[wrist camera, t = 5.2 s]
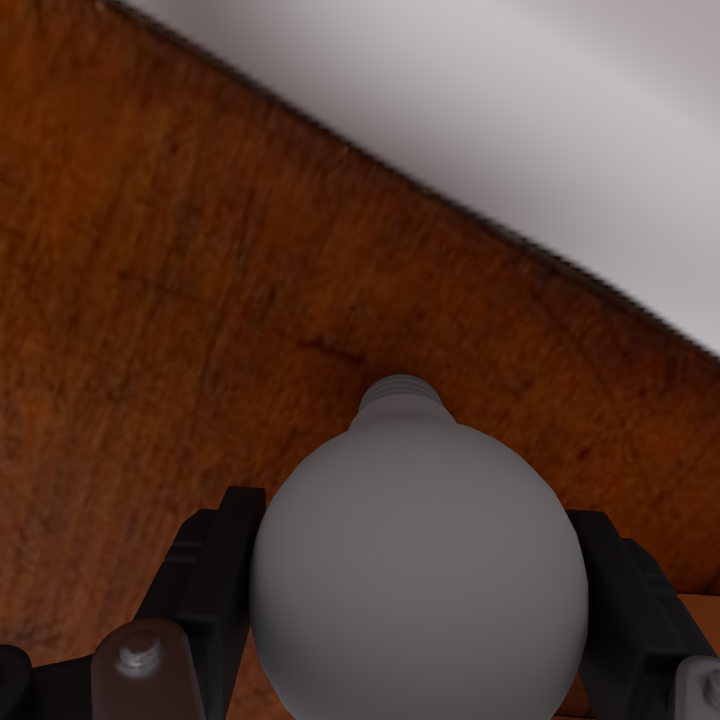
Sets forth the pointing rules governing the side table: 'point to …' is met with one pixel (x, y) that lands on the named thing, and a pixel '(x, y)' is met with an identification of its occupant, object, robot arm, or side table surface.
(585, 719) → the terracotta bin
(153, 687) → the robot arm
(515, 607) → the lightbulb
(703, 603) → the block
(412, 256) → the side table surface
